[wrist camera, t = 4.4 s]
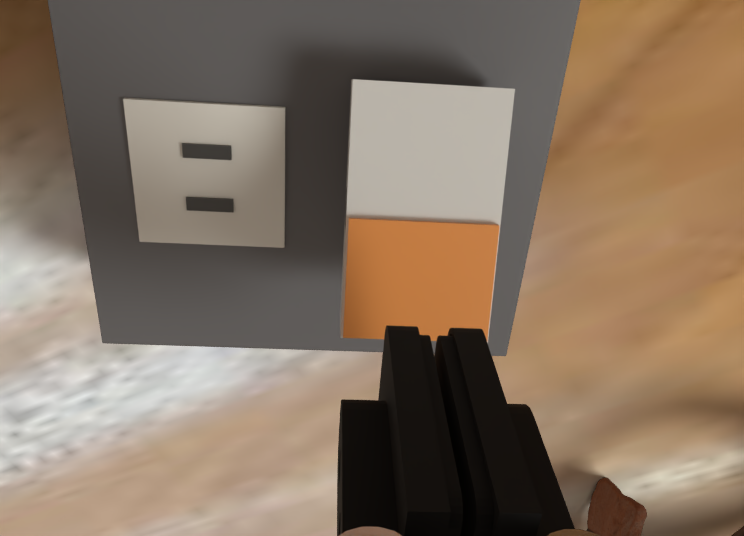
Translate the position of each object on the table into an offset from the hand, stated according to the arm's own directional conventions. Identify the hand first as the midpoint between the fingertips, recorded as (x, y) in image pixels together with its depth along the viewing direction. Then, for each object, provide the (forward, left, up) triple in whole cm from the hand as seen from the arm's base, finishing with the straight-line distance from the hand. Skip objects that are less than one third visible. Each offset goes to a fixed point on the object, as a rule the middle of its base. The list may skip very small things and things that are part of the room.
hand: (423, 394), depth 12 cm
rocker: (-2, 0, -3) cm, 4 cm away
